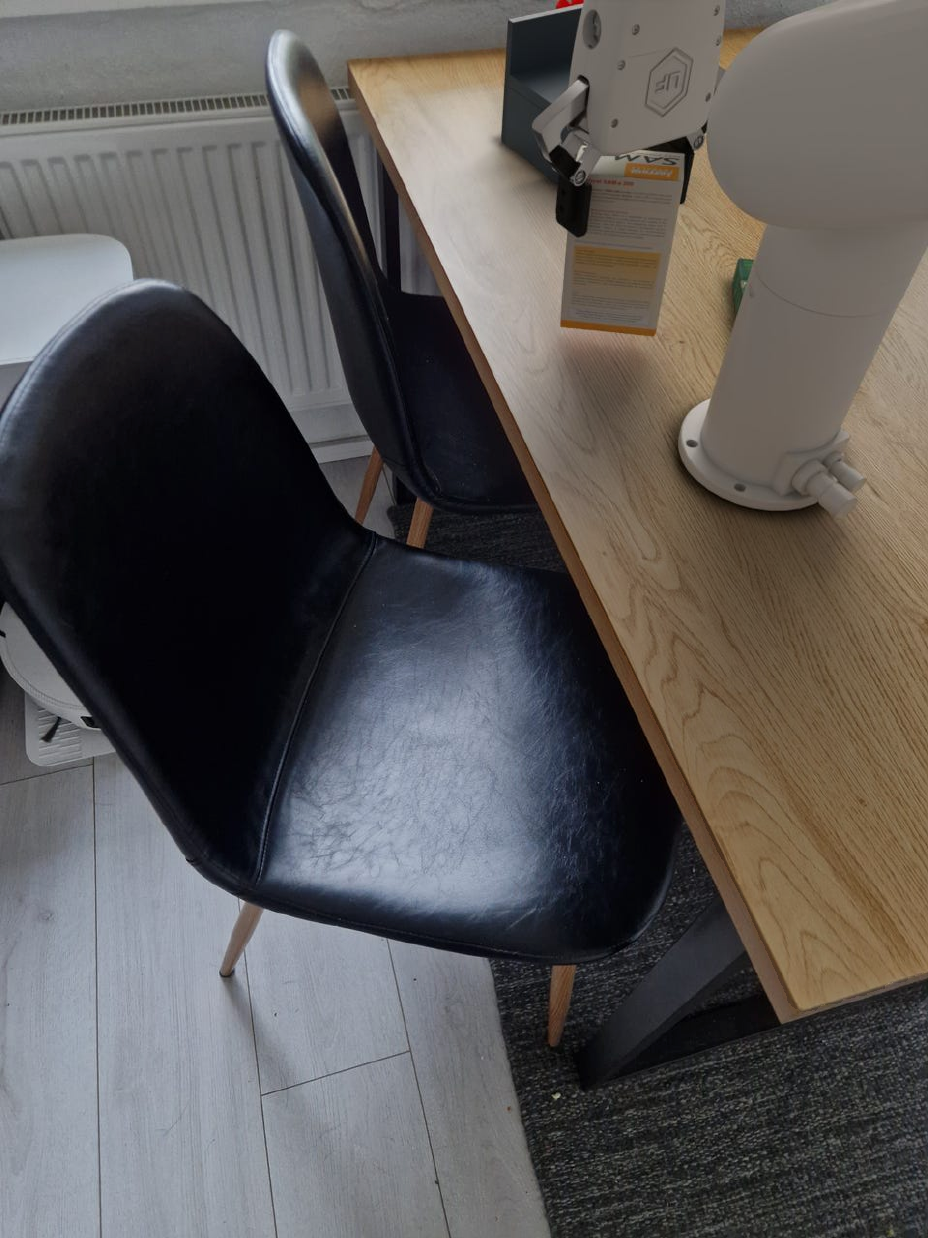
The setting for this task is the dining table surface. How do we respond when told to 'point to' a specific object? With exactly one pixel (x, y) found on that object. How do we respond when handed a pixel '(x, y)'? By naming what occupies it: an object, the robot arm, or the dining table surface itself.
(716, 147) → the robot arm
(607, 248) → the supplement box
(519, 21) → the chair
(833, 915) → the dining table surface
